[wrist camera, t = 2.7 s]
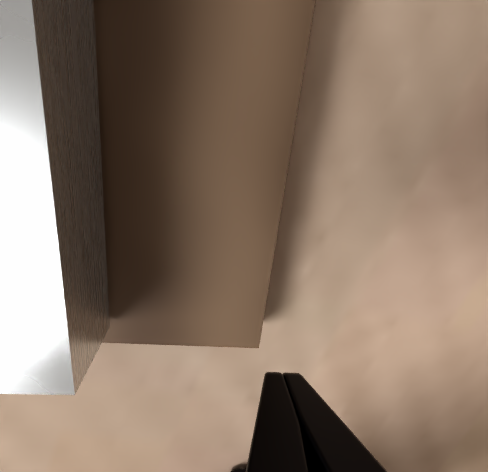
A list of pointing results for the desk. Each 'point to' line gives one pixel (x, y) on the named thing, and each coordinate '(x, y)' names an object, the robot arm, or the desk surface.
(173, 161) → the board
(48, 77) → the bar
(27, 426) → the desk surface
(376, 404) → the desk surface
